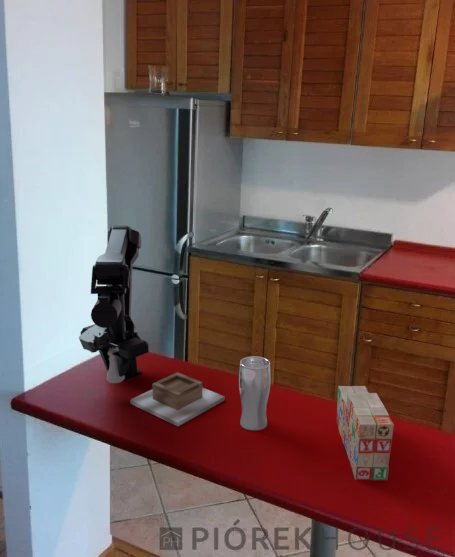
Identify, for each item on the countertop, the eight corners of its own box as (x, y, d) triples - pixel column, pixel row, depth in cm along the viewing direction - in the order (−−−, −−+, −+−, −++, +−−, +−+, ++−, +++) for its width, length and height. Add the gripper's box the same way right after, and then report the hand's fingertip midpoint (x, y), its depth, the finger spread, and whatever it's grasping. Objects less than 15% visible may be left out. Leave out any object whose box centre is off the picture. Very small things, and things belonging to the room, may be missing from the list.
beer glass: (275, 423, 129) (277, 362, 125) (255, 435, 124) (257, 372, 120) (252, 412, 133) (253, 353, 129) (231, 423, 128) (232, 362, 124)
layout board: (130, 403, 137) (129, 384, 136) (177, 380, 149) (177, 363, 147) (177, 426, 127) (177, 406, 126) (224, 400, 139) (224, 381, 138)
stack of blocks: (335, 422, 130) (338, 372, 126) (363, 423, 130) (367, 373, 126) (355, 481, 109) (360, 423, 106) (388, 481, 109) (394, 423, 106)
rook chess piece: (116, 385, 136) (114, 354, 134) (102, 380, 138) (100, 350, 136) (129, 378, 139) (127, 347, 137) (115, 374, 142) (113, 343, 139)
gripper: (59, 312, 134) (64, 373, 138) (110, 331, 122) (113, 397, 127) (98, 300, 142) (101, 358, 146) (149, 317, 130) (151, 380, 135)
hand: (115, 373), depth 138 cm, fingers closed on rook chess piece, 4 cm apart
